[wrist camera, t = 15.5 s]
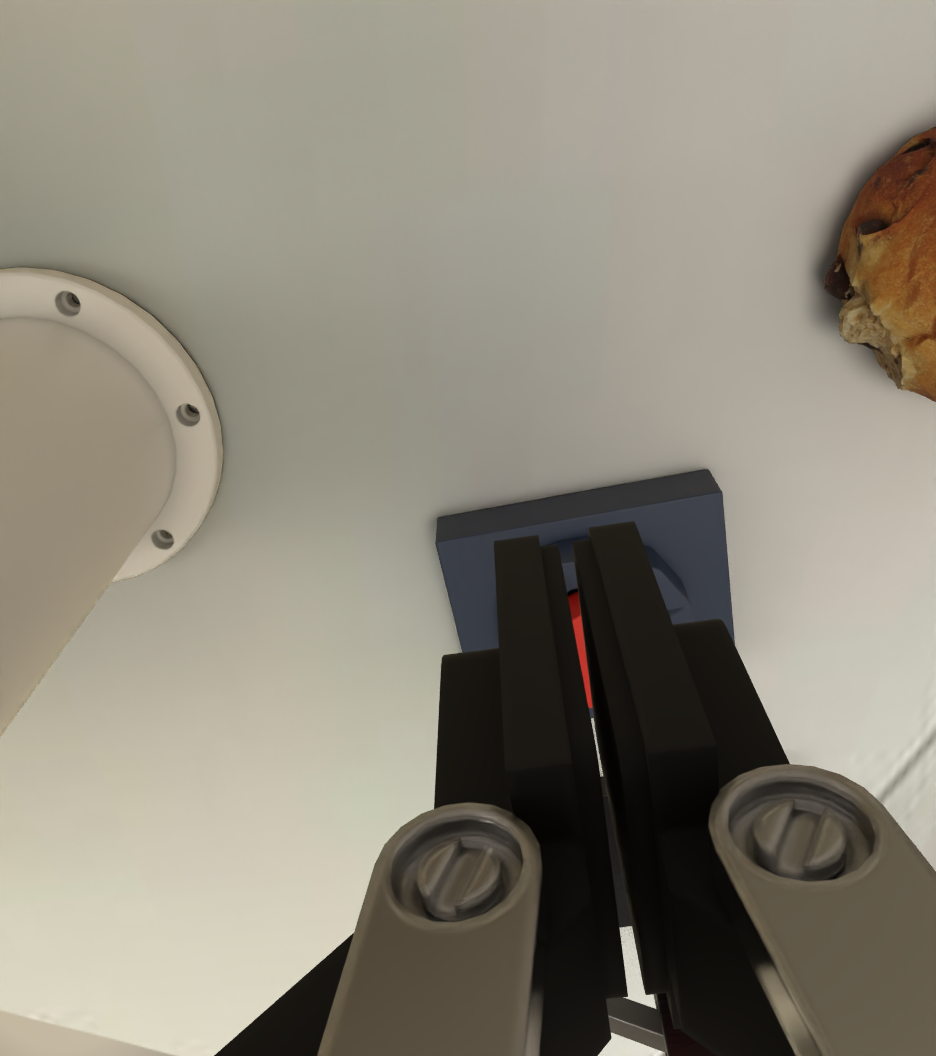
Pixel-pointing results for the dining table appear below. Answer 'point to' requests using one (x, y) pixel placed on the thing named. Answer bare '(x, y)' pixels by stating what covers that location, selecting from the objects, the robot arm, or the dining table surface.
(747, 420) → the dining table surface
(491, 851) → the robot arm
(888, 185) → the bread roll
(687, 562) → the button housing
